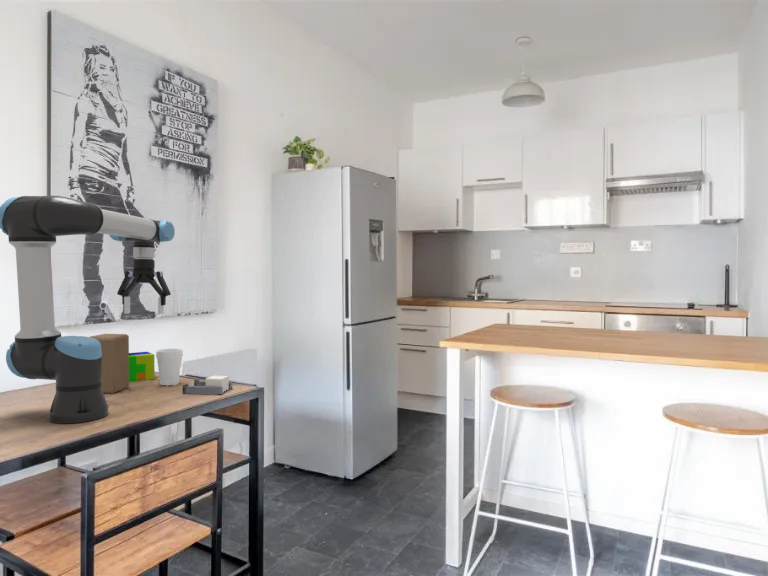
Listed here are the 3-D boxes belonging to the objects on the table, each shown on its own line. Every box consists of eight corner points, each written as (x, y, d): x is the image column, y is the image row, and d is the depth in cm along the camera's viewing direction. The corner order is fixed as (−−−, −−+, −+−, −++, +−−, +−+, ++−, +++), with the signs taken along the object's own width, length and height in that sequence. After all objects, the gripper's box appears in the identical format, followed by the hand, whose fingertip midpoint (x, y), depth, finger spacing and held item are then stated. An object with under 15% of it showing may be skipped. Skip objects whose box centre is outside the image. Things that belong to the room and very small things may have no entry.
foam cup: (159, 387, 192) (159, 352, 192) (153, 383, 200) (153, 349, 199) (185, 384, 198) (185, 350, 197) (179, 380, 205) (179, 347, 205)
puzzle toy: (147, 375, 215) (147, 351, 215) (154, 379, 208) (154, 354, 207) (120, 378, 209) (120, 353, 209) (127, 382, 201) (127, 357, 201)
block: (221, 393, 184) (221, 379, 184) (205, 392, 185) (205, 378, 184) (228, 389, 190) (228, 376, 190) (212, 389, 191) (212, 375, 190)
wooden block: (130, 387, 192) (129, 333, 191) (113, 394, 182) (113, 337, 181) (104, 387, 193) (104, 333, 192) (86, 393, 183) (86, 336, 182)
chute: (220, 395, 182) (220, 386, 182) (182, 393, 183) (182, 384, 183) (232, 388, 192) (232, 380, 192) (196, 387, 194) (196, 378, 193)
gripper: (179, 259, 203) (179, 313, 204) (118, 258, 205) (118, 312, 206) (170, 258, 196) (170, 314, 196) (107, 258, 198) (107, 313, 198)
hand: (144, 313), depth 201 cm, fingers open, 13 cm apart
